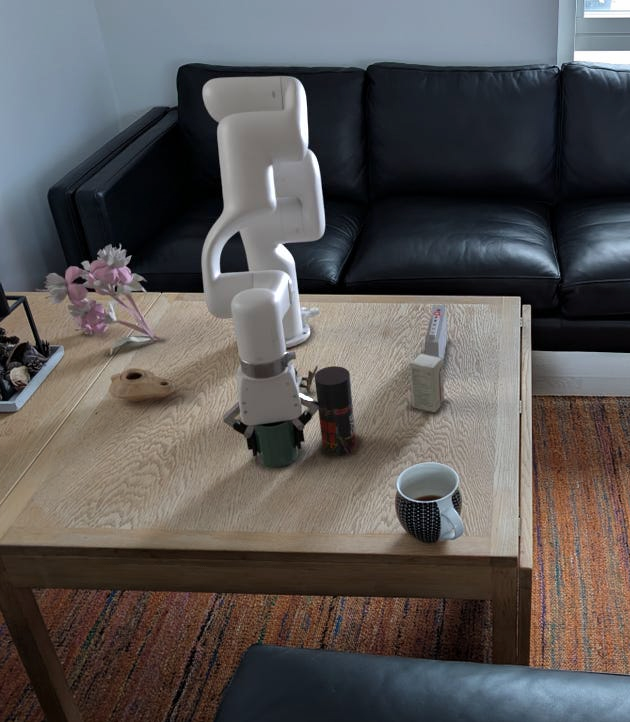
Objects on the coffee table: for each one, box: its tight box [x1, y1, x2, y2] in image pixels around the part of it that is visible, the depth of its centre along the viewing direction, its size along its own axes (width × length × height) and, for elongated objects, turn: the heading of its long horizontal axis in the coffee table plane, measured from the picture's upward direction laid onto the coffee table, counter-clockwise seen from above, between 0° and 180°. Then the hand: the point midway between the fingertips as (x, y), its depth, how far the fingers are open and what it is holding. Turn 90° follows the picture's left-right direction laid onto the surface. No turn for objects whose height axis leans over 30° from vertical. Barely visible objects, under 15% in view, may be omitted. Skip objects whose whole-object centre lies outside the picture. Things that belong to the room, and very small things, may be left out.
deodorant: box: [314, 365, 357, 457], centre depth 146 cm, size 6×6×15 cm
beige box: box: [409, 352, 445, 413], centre depth 158 cm, size 5×4×10 cm
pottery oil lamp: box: [108, 368, 176, 403], centre depth 160 cm, size 9×12×7 cm
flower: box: [35, 243, 161, 355], centre depth 177 cm, size 20×22×25 cm
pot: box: [254, 420, 299, 469], centre depth 145 cm, size 7×7×8 cm
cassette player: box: [424, 304, 448, 359], centre depth 172 cm, size 16×3×10 cm, turn 176°
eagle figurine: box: [294, 365, 319, 395], centre depth 163 cm, size 8×7×9 cm
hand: (277, 447), depth 146 cm, fingers closed on pot, 7 cm apart
